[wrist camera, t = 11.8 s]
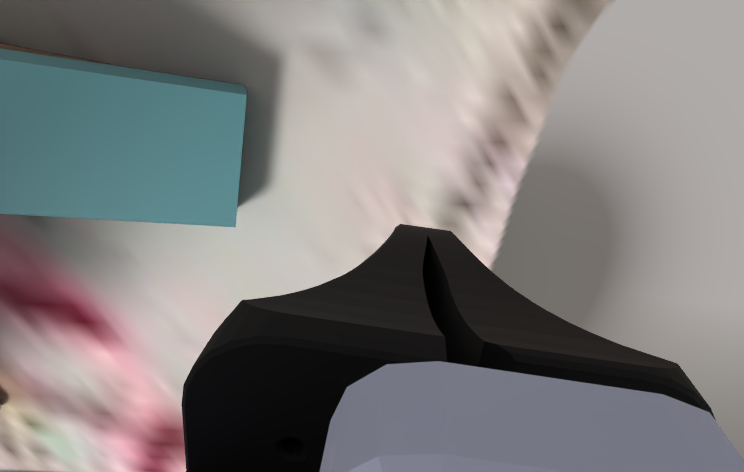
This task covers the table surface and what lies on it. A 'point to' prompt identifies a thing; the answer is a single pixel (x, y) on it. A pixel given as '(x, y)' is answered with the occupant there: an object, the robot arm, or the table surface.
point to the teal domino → (117, 142)
